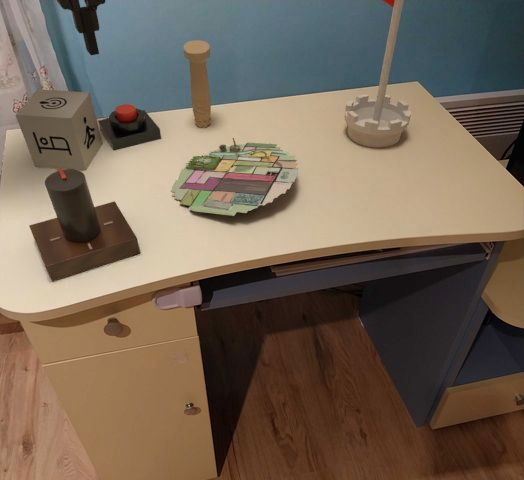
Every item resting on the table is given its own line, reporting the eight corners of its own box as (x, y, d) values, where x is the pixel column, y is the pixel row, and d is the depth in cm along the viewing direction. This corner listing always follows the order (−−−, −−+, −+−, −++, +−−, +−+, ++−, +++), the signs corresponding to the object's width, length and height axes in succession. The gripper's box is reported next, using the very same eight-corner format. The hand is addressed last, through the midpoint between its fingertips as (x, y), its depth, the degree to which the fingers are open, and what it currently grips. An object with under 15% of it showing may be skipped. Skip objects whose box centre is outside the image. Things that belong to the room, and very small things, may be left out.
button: (114, 115, 100) (112, 106, 99) (133, 111, 101) (131, 102, 100) (120, 124, 98) (118, 115, 96) (140, 119, 99) (138, 110, 98)
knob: (105, 235, 77) (89, 182, 69) (69, 247, 75) (49, 193, 68) (94, 216, 80) (78, 163, 72) (59, 226, 78) (39, 173, 71)
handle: (191, 132, 103) (182, 53, 91) (192, 117, 107) (184, 40, 96) (214, 132, 103) (209, 53, 92) (214, 117, 107) (209, 40, 96)
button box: (100, 130, 103) (95, 111, 100) (146, 120, 106) (142, 101, 103) (114, 150, 98) (109, 131, 95) (161, 139, 101) (158, 119, 98)
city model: (180, 157, 101) (173, 128, 96) (295, 144, 99) (294, 114, 94) (167, 237, 85) (157, 207, 80) (303, 224, 83) (301, 192, 79)
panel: (52, 281, 75) (45, 265, 72) (35, 240, 81) (28, 224, 78) (140, 253, 79) (136, 237, 76) (118, 216, 85) (114, 200, 82)
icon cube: (35, 167, 94) (15, 114, 86) (54, 140, 101) (37, 89, 93) (86, 170, 94) (70, 118, 86) (102, 143, 100) (89, 92, 92)
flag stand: (398, 118, 108) (437, -56, 84) (411, 149, 100) (459, -34, 76) (338, 119, 107) (361, -56, 84) (347, 150, 99) (375, -34, 76)
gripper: (90, -137, 74) (121, 38, 93) (-1, -133, 70) (50, 50, 88) (105, -129, 70) (135, 53, 88) (10, -124, 66) (61, 66, 84)
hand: (92, 51), depth 88 cm, fingers closed
